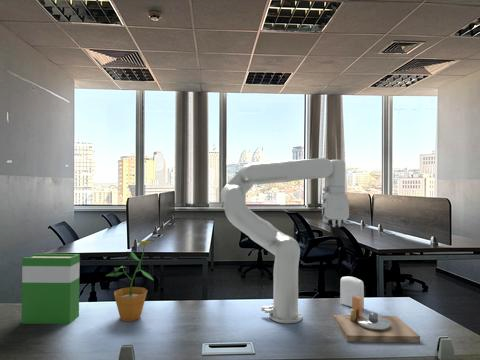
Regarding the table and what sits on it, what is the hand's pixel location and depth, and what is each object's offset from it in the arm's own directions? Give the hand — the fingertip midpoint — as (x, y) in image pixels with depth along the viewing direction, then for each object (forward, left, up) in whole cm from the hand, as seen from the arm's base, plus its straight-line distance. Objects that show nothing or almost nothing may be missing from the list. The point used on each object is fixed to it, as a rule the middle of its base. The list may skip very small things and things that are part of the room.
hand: (334, 236), depth 140 cm
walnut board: (+10, -15, -31) cm, 36 cm away
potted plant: (-80, -6, -31) cm, 86 cm away
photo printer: (+10, +10, -31) cm, 34 cm away
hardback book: (-109, -9, -31) cm, 114 cm away
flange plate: (+9, -14, -29) cm, 33 cm away
